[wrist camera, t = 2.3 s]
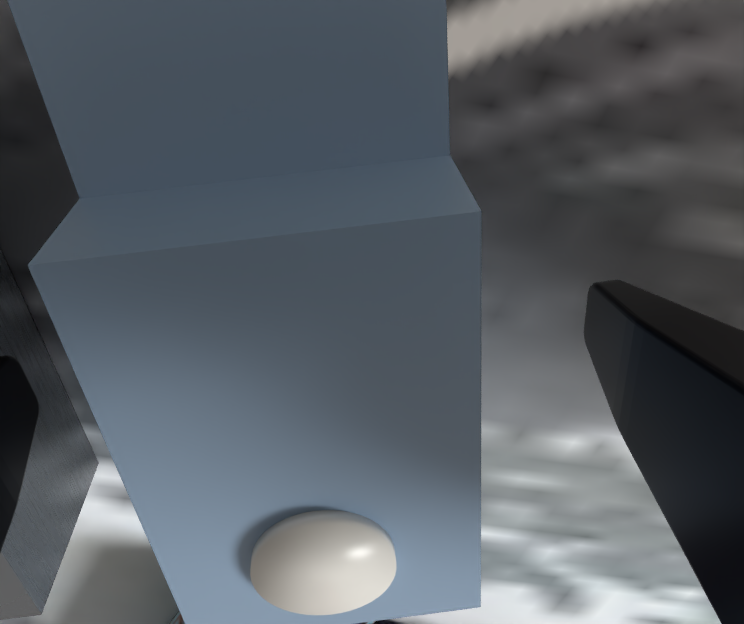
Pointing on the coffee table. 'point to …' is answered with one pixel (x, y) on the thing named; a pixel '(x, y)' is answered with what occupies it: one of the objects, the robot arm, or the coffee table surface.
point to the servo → (272, 296)
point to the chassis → (40, 467)
